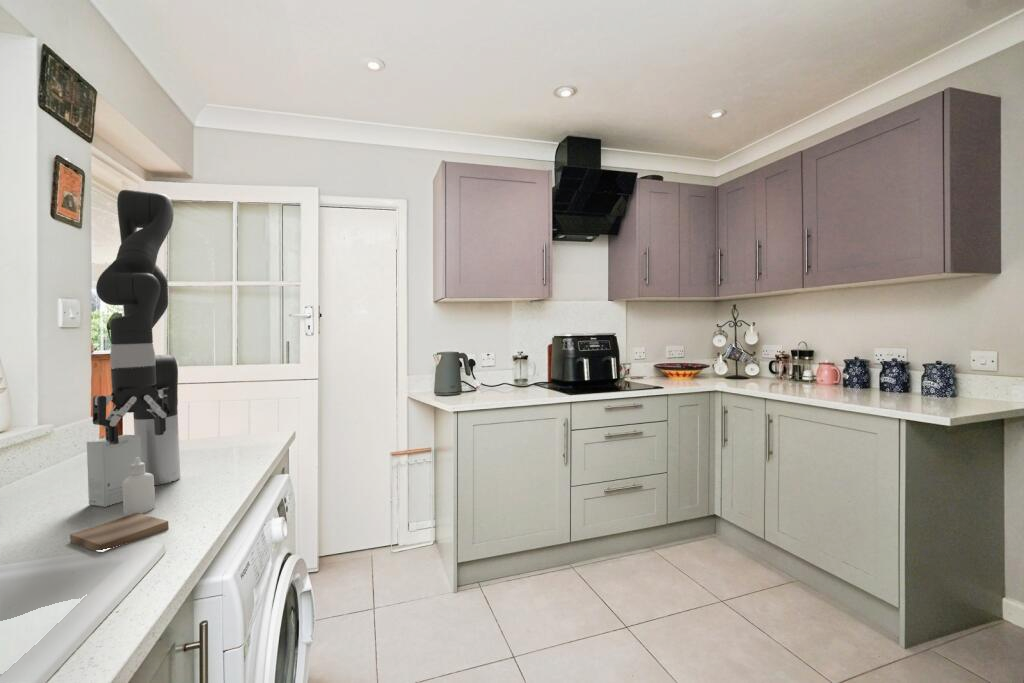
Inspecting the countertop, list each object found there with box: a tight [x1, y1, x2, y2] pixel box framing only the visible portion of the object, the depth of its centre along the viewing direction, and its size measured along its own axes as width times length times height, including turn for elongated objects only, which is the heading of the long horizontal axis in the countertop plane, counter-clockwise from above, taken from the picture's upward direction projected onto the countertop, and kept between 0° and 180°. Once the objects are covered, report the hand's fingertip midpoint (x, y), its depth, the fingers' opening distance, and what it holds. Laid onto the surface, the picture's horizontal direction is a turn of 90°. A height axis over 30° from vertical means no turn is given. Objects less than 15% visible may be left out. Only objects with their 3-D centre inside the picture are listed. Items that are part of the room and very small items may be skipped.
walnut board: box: [69, 513, 169, 551], centre depth 90 cm, size 11×11×2 cm
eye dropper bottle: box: [122, 457, 156, 517], centre depth 101 cm, size 4×6×12 cm
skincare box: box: [86, 434, 141, 508], centre depth 109 cm, size 8×6×15 cm
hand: (137, 439), depth 101 cm, fingers open, 8 cm apart
